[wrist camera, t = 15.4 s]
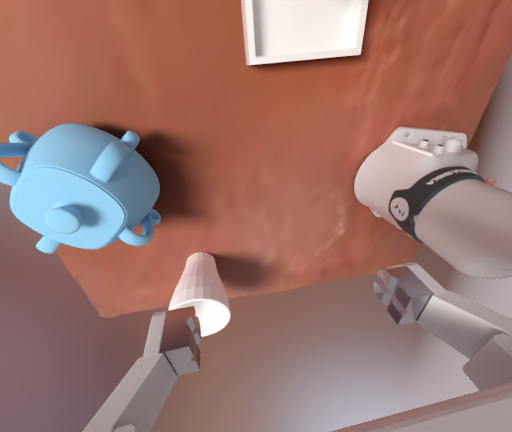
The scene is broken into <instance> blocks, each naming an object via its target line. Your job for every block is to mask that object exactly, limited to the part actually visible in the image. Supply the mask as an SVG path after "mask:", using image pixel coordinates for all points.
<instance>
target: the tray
mask: <svg viewBox="0 0 512 432" xmlns="http://www.w3.org/2000/svg"><path fill="white" fill-rule="evenodd" d="M368 1H369V0H241V6H242V18H243V29H244V41H245V53H246V65H257V64H267V63H278V62H289V61H299V60H310V59H320V58H331V57H342V56H352V55H361V49H362V42H363V35H364V28H365V21H366V15H367V8H368Z"/></svg>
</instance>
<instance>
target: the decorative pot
mask: <svg viewBox="0 0 512 432" xmlns="http://www.w3.org/2000/svg"><path fill="white" fill-rule="evenodd" d="M9 141H10V143H0V157H12V156H24V158H23V159H22V161H21V163H20V165H19V167H18V170H17V171H16V170H14V169H12V168H10V167H8V166H6V165H4V164H3V163H1V162H0V182H2V183H5V184H7V185H10V186H12V191H11V195H10V207H11V210H12V212H13V213H14V215H15V216H16V217H17V218H18V219H19V220H20V221H22V222H23V223H24V224H26V225H27V226H29V227H30V228H32V229H33V230H35V231H37V232H39V233H40V234H42V235H44V236H43V237H42V239H41V240H40V241H39V242H38V243H37V245H36V247H37V249H39V250H40V251H42V252H45V253H50V254H51V253H54V252H55V251H56V250H57V248H58V247H59V246H60V245H61V244H62V243H64V244H67V245H70V246H74V247H78V248H84V249H98V248H101V247H104V246H107V245H109V244H111V243H113V242H115V241H117V240H119V239H121V240H122V241H124V242H125V243H127V244H130V245H134V246H142V245H145V244H147V243H148V242H150V240H151V239H152V237H153V235H154V226H155V225H157V224H159V222H160V220H161V216H160V214H159V213H158V212H157V211H156V210H155V209H152V207H153V206H154V204H155V202H156V200H157V198H158V196H159V192H160V184H159V180H158V177H157V175H156V173H155V172H154V170H153V169H152V167H151V166H150V165H149V164H148V162H147V161H146V160H145V159H144V158H143V157H142V156H141V155H140V154H139V153H138V152H137V151H136V150H134V149H135V148H136V146H137V145H138V143H139V141H140V137H139V136H138V135H137V134H136V133H135V132H133V131H130V130H129V131H127V132H126V134H125V135H124V136H123V137H122V139H121V140H120V139H119V138H117V137H115V136H113V135H111V134H109V133H107V132H105V131H102V130H100V129H97V128H95V127H91V126H88V125H84V124H77V123H66V124H62V125H59V126H57V127H55V128H52V129H50V130H49V131H48V132H46V133H45V134H44V135H43V136H42V137H41V138H40V139H39V138H37V137H36V136H34V135H32V134H30V133H27V132H24V131H18V132H15V133H13V134H12V135H11V136H10V138H9ZM141 222H142V225H143V233H144V236H142V235H139V234H137V233H135V232H133V231H132V230H133V229H134V228H135V227H137V226H138V225H139V224H140V223H141Z"/></svg>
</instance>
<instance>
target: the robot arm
mask: <svg viewBox="0 0 512 432" xmlns="http://www.w3.org/2000/svg"><path fill="white" fill-rule="evenodd" d="M406 134H407V135H406ZM405 135H406V136H405ZM466 146H467V138H466V134H464V133H461V132H455V131H445V130H434V129H424V128H414V127H404V126H401V127H398V128H397V129H396V130H395V131H394V132H393V133H392V134H391V135H390V137H389V138H388V139H387V141H386V142H385V143H384V144H382V145H381V146H380V147H378V148H377V149H376V150H375V151H373V152H372V153H371V154H370V155H369V156H368V157H367V158H366V160H365V161H364V162H363V164H362V165H361V167H360V168H359V170H358V173H357V175H356V178H355V183H354V191H355V195H356V198H357V199H358V201H359V202H360V203H361V204H363V205H365V206H367V207H369V208H370V210H371V212H372V213H373V214H374V215H375V216H377V217H383V218H384V219H386V220H387V221H389V222H390V223H392V224H393V225H395V226H396V227H398V228H400V229H402V230H404V231H405V232H406V233H407V234H408V235H409V236H410V237H412V238H414V239H415V240H417V241H418V242H421V243H424V244H426V245H427V246H428V247H429V248H431V249H432V250H433V251H434V252H436V253H437V254H438V255H439V256H441V257H442V258H443V259H444V260H446V261H447V262H448V263H449V264H451V265H452V266H453V267H454V268H456V269H457V270H458V271H459V272H462V273H464V274H466V275H469V276H472V277H477V278H482V279H501V278H507V277H512V193H510V192H508V191H505V190H502V189H500V188H497V187H495V186H494V184H495V182H496V181H493V183H492V184H491V185H490V178H488V179H487V181H485V180H484V179H483V178H481V177H480V176H479V175H478V174H477V173H476V171H477V166H478V156H477V154H476V153H475V152H473V151H471V150H468V149H466ZM377 275H378V276H379V278H378V279H377V280H376V281H375V284H374V290H375V294H376V296H377V298H378V299H379V301H381V303H383V304H385V305H386V306H387V311H388V313H389V314H390V315H391V317H392V318H393V320H394V321H395V322H396V323H397V325H402V324H407V323H412V322H417V324H419V325H420V326H422V327H423V328H425V329H426V330H428V331H429V332H431V333H432V334H434V335H435V336H436V337H438V338H439V339H441V340H442V341H444V342H445V343H447V344H448V345H450V346H451V347H453V348H454V349H456V350H457V351H458V352H460V353H461V354H463V355H464V356H466V357H467V358H469V359H470V360H469V361H468V362H467V363H466V364H465V365H464V366H463V371H464V372H465V373H466V375H467V376H468V377H469V378H470V380H471V381H472V382H473V383H474V384H475V386H476V387H477V388H478V389H479V390H480V391H478V392H474V393H471V394H467V395H463V396H460V397H456V398H453V399H449V400H445V401H441V402H438V403H434V404H430V405H427V406H423V407H420V408H416V409H412V410H409V411H405V412H401V413H398V414H394V415H391V416H387V417H383V418H379V419H376V420H372V421H368V422H365V423H361V424H357V425H354V426H350V427H346V428H343V429H339V430H335V431H332V432H512V319H511V318H509V317H506V316H504V315H502V314H500V313H498V312H495V311H493V310H491V309H489V308H486V307H484V306H482V305H479V304H478V303H475V302H473V301H471V300H469V299H467V298H464V297H462V296H460V295H458V294H456V293H453V292H451V291H449V292H447V291H446V290H444V288H443V287H442V286H440V285H439V284H438V283H437V282H436V281H435V280H434V279H433V278H432V277H431V276H430V275H429V274H428V273H427V272H425V271H424V270H423V269H422V268H421V267H420V266H419V265H418V264H416V263H407V264H403V265H396V266H391V267H387V268H382V269H380V270H379V272H378V274H377ZM195 314H196V310H195V308H194V306H190V307H185V308H179V309H173V310H167V311H163V312H157V313H154V315H153V316H152V319H151V324H150V328H149V333H148V337H147V342H146V346H145V351H144V355H143V357H141V358H139V359H138V360H137V361H136V363H135V364H134V365H133V366H132V368H131V369H130V370H129V372H128V373H127V374H126V376H125V377H124V378H123V380H122V381H121V382H120V383H119V385H118V386H117V387H116V389H115V390H114V391H113V393H112V394H111V395H110V397H109V398H108V399H107V401H106V402H105V403H104V404H103V406H102V407H101V408H100V409H99V411H98V412H97V414H96V415H95V416H94V417H93V419H92V420H91V421H90V422H89V424H88V425H87V426H86V428H85V429H84V430H83V432H150V430H151V428H152V426H153V424H154V423H155V421H156V419H157V417H158V415H159V413H160V411H161V409H162V407H163V405H164V403H165V401H166V399H167V398H168V396H169V394H170V392H171V390H172V388H173V386H174V384H175V382H176V380H177V378H178V376H179V375H183V374H187V373H191V372H195V371H199V370H200V353H201V352H200V349H199V347H198V344H199V343H200V341H201V328H200V322H199V318H198V317H197V316H195Z"/></svg>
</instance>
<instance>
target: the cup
mask: <svg viewBox="0 0 512 432" xmlns="http://www.w3.org/2000/svg"><path fill="white" fill-rule="evenodd" d="M190 306H194V308H195V310H196V314H195V316H197V317H198V318H199V322H200V328H201V337H202V336H207V335H210V334H213V333H215V332H218V331H219V330H221V329H222V328H224V327H225V326H226V325H227V324H228V322H229V320H230V307H229V302H228V299H227V296H226V292H225V289H224V286H223V284H222V282H221V279H220V277H219V274H218V272H217V268H216V263H215V259H214V257H213V256H212V255H210V254H208V253H205V252H198V253H194V254H192V255H191V256H190V257H189V258H188V259H187V262H186V266H185V270H184V272H183V274H182V277H181V279H180V281H179V283H178V285H177V287H176V289H175V292H174V294H173V297H172V299H171V302H170V305H169V309H168V310H173V309H179V308H185V307H190Z"/></svg>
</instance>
